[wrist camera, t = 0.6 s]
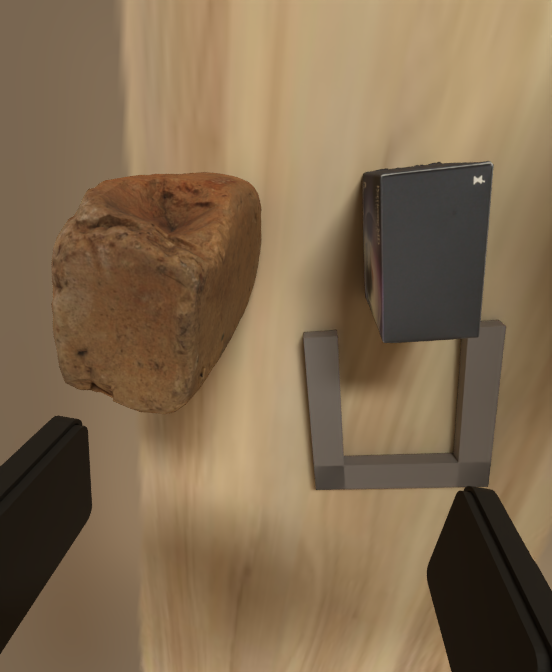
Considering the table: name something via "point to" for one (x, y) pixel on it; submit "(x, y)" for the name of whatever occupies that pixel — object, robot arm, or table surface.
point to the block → (153, 284)
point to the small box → (426, 249)
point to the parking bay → (407, 469)
